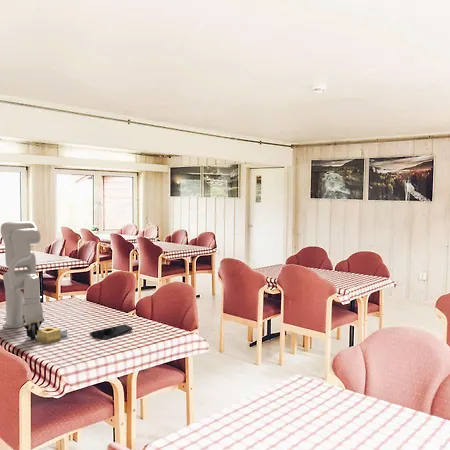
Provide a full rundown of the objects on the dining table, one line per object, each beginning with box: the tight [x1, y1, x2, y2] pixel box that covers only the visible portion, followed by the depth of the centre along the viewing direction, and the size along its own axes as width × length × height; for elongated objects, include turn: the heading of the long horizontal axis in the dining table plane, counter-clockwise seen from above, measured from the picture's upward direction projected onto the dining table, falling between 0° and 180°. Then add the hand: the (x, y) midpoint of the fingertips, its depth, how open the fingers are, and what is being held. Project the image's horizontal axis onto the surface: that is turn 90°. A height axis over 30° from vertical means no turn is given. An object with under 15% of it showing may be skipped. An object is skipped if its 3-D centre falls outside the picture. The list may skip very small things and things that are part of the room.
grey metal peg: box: [30, 323, 36, 340], centre depth 248 cm, size 2×2×8 cm
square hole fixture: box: [26, 326, 72, 345], centre depth 249 cm, size 18×15×6 cm
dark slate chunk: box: [89, 323, 133, 340], centre depth 262 cm, size 15×22×5 cm
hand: (32, 335), depth 248 cm, fingers open, 3 cm apart
